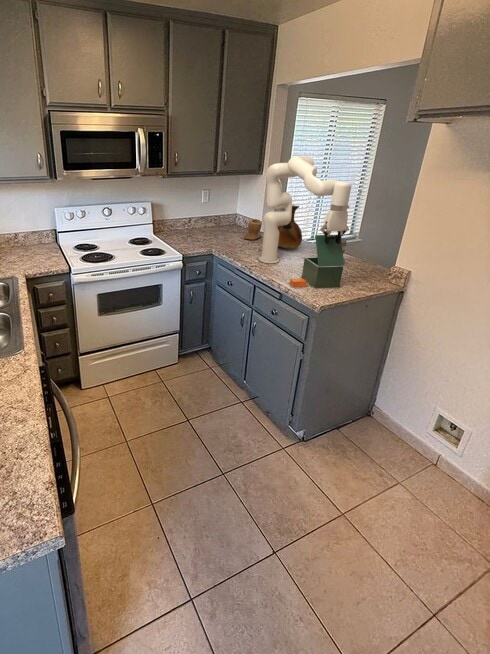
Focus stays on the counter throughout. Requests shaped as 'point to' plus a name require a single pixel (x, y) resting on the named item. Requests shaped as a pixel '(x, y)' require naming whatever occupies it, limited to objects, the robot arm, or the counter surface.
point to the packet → (298, 282)
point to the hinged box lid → (329, 251)
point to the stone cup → (253, 229)
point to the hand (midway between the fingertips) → (332, 243)
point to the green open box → (321, 274)
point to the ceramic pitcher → (290, 233)
